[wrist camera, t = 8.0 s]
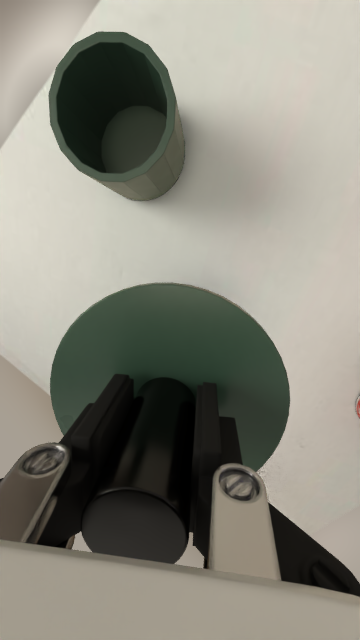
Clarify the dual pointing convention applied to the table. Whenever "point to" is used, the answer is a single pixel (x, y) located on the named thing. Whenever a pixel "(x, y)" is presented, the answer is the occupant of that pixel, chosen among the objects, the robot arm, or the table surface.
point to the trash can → (118, 115)
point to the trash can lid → (165, 405)
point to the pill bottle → (358, 406)
